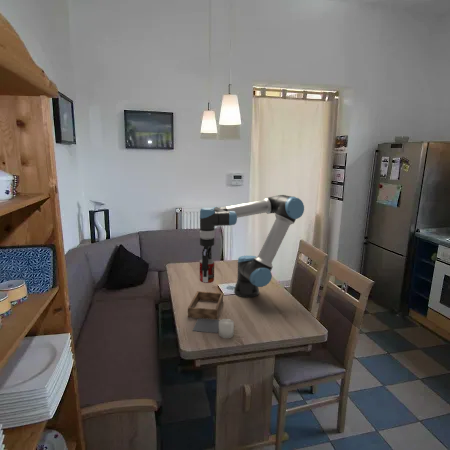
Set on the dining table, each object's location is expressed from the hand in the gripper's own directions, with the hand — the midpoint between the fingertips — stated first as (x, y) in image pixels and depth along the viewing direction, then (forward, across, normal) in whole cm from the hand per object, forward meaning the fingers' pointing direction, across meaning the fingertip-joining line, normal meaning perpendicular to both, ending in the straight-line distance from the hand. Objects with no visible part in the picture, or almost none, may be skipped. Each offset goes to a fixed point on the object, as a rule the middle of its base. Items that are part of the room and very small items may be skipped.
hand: (206, 279), depth 169 cm
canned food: (+1, 0, 0) cm, 1 cm away
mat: (+17, +18, +4) cm, 25 cm away
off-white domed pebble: (+17, +24, +14) cm, 33 cm away
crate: (+17, 0, 0) cm, 17 cm away
